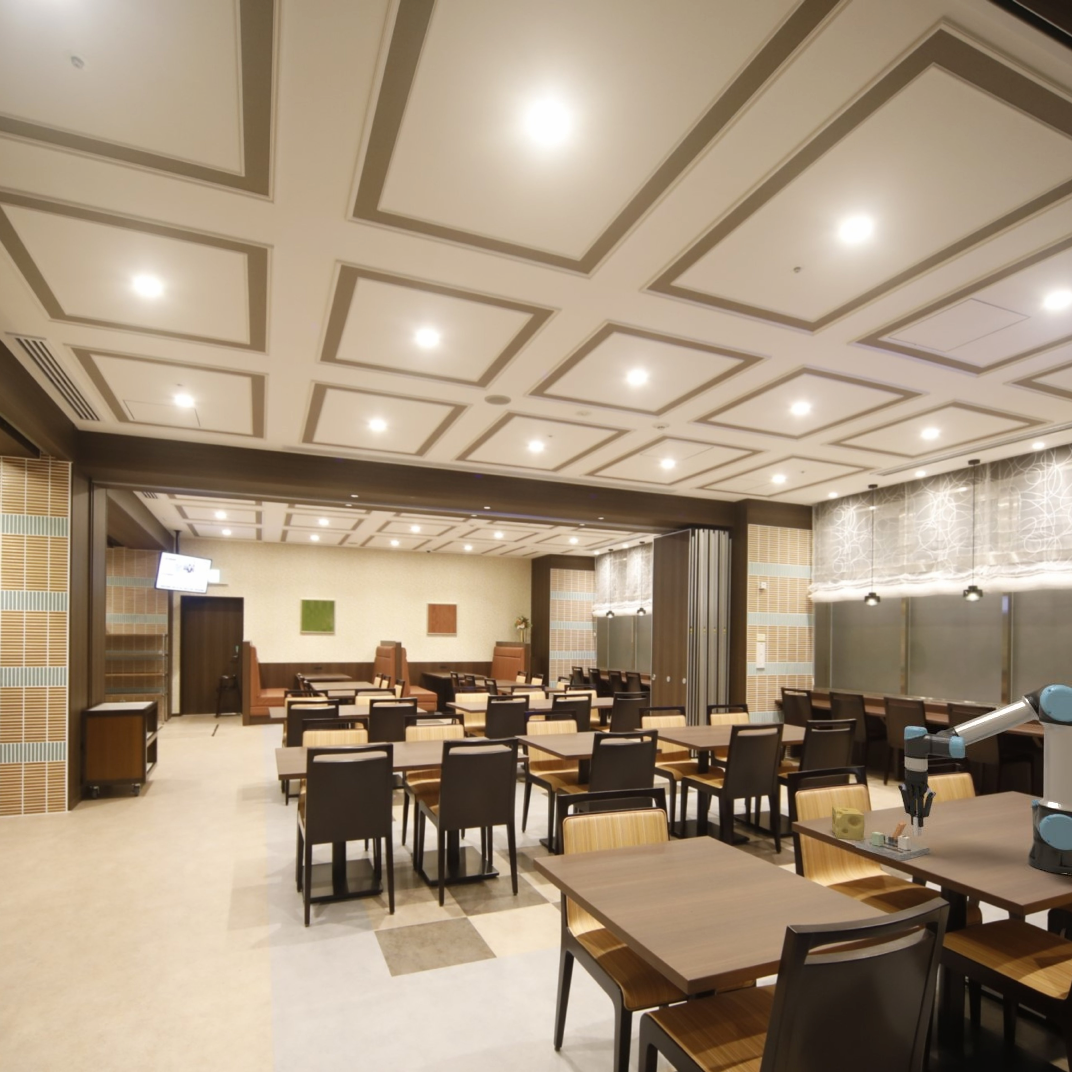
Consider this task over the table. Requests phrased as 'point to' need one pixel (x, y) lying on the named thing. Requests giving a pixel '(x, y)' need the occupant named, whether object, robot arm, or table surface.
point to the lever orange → (898, 831)
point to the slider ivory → (904, 842)
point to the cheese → (847, 823)
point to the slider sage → (877, 838)
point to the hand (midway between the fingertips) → (917, 835)
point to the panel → (893, 849)
